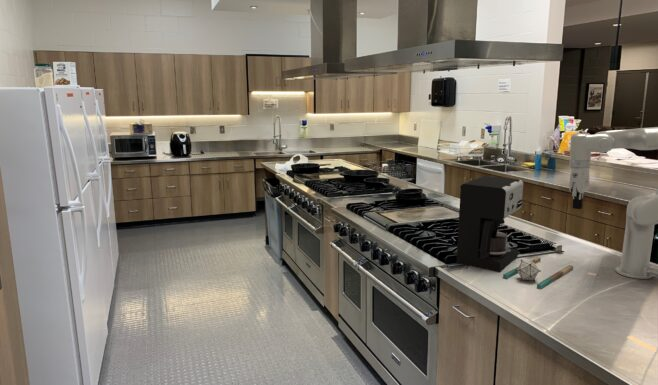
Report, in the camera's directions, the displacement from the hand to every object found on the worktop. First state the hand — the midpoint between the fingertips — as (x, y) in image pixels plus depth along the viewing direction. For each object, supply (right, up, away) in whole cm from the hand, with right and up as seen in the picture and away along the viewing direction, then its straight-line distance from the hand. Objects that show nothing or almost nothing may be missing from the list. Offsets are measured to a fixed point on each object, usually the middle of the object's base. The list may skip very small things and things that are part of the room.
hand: (577, 208), depth 198 cm
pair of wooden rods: (-18, -26, -4) cm, 32 cm away
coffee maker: (-34, -23, +11) cm, 43 cm away
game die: (-25, -28, -10) cm, 39 cm away
